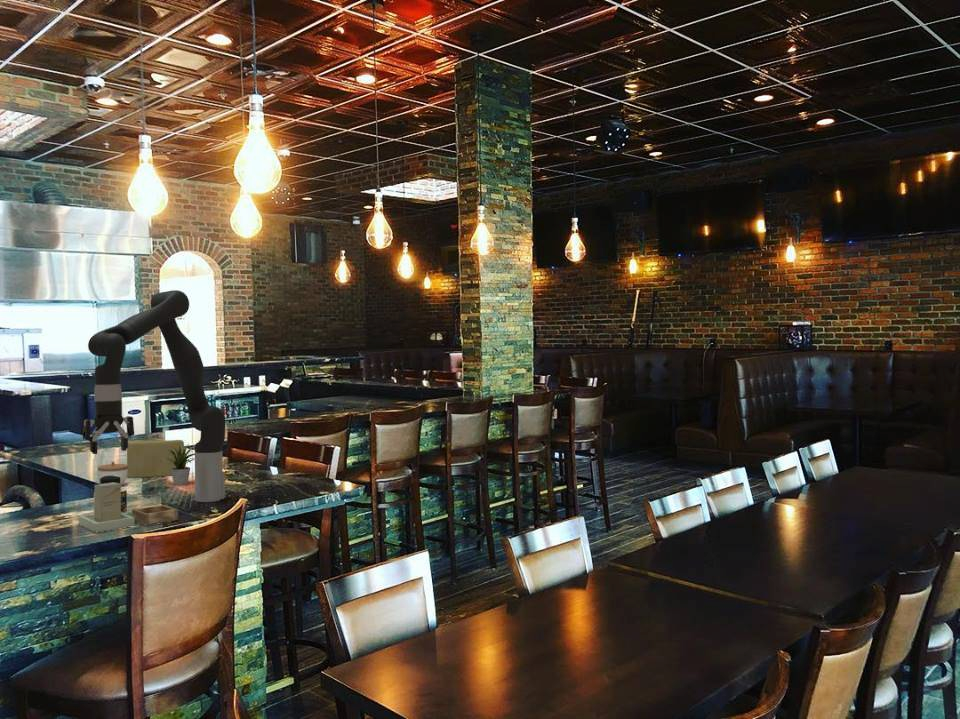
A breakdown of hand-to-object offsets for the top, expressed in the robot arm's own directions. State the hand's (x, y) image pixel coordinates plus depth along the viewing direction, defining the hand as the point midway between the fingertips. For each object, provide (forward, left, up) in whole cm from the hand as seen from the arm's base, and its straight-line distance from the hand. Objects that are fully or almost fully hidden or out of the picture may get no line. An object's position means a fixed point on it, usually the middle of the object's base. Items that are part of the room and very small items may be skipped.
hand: (109, 452), depth 234 cm
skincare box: (+1, +1, -22) cm, 22 cm away
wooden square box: (-12, +5, -22) cm, 26 cm away
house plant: (-45, -48, -23) cm, 69 cm away
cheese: (-47, -73, -23) cm, 90 cm away
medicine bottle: (-7, -17, -23) cm, 29 cm away
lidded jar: (-25, -64, -23) cm, 72 cm away
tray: (+1, +1, -22) cm, 22 cm away
